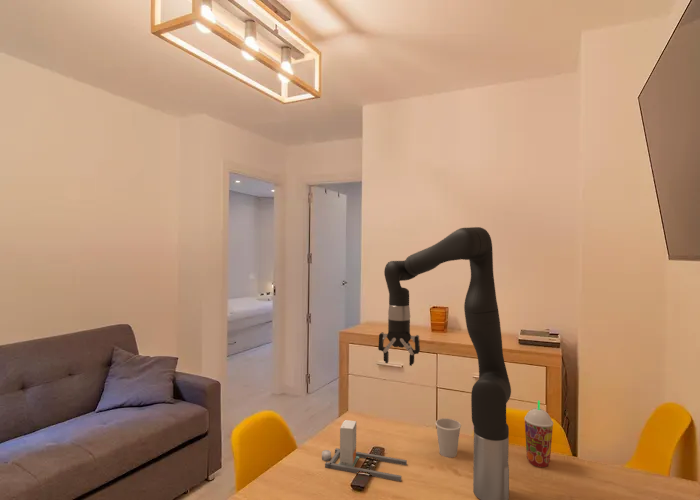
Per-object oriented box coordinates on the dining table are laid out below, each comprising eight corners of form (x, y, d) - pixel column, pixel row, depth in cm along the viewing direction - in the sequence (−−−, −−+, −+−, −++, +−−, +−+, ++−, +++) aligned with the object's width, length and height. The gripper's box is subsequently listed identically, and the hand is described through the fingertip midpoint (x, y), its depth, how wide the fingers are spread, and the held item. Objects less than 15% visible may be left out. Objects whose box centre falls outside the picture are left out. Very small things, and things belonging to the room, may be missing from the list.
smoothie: (518, 459, 130) (518, 398, 130) (536, 453, 134) (537, 394, 134) (540, 472, 123) (540, 407, 122) (558, 466, 126) (559, 403, 126)
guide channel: (406, 463, 127) (406, 457, 127) (400, 481, 118) (400, 474, 118) (327, 450, 136) (327, 444, 136) (316, 465, 126) (316, 459, 126)
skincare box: (352, 467, 125) (352, 429, 125) (339, 465, 126) (339, 427, 126) (356, 457, 131) (356, 420, 131) (343, 455, 132) (344, 419, 131)
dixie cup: (460, 448, 137) (460, 419, 137) (461, 461, 129) (461, 430, 129) (435, 445, 139) (435, 416, 139) (434, 457, 131) (434, 427, 131)
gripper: (376, 318, 138) (376, 365, 139) (417, 320, 134) (417, 369, 134) (381, 314, 145) (381, 359, 146) (421, 317, 141) (420, 362, 141)
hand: (398, 363), depth 140 cm, fingers open, 8 cm apart
